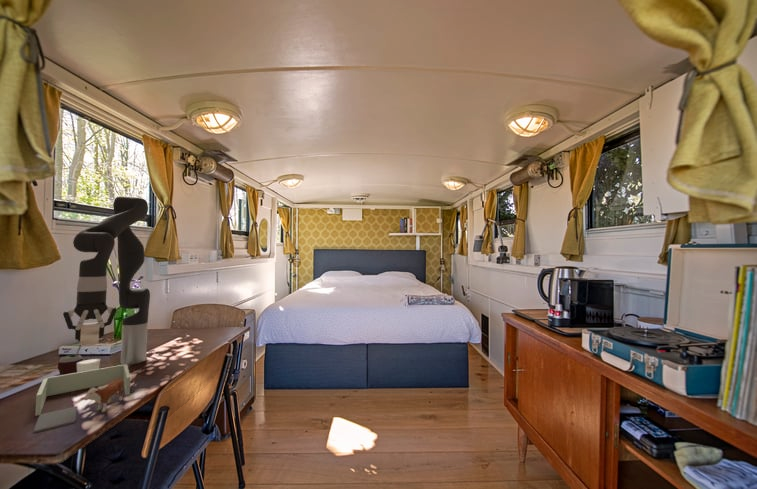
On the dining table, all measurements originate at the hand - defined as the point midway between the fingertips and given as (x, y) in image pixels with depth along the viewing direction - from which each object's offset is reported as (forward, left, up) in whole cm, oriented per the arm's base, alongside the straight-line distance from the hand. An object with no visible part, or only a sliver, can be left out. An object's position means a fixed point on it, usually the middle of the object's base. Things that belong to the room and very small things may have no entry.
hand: (89, 339), depth 106 cm
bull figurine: (+15, +5, -20) cm, 25 cm away
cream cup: (-20, 0, -20) cm, 28 cm away
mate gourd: (-29, -5, -20) cm, 35 cm away
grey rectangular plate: (+15, -6, -19) cm, 25 cm away
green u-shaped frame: (-1, 0, -19) cm, 19 cm away
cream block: (0, 0, -1) cm, 1 cm away
